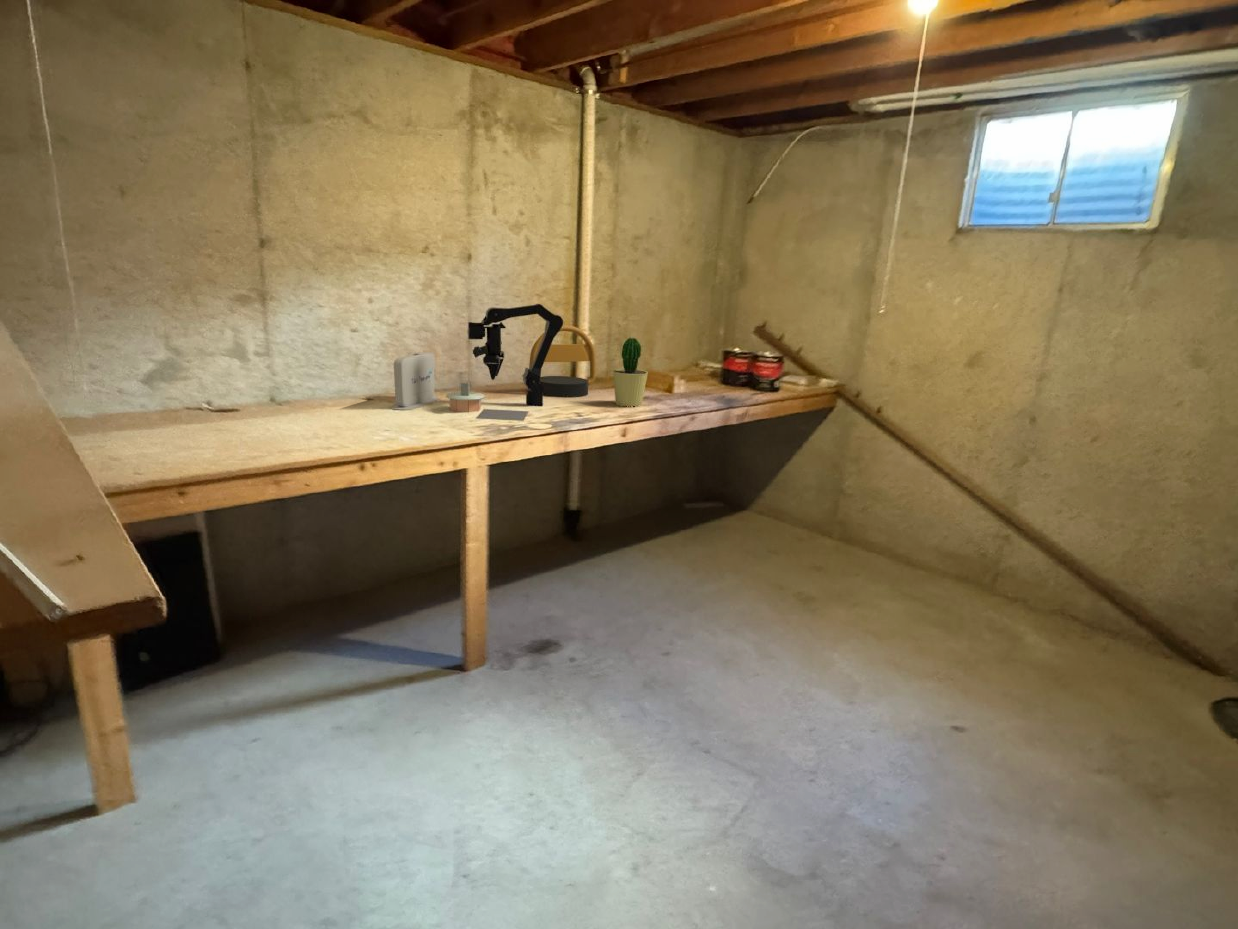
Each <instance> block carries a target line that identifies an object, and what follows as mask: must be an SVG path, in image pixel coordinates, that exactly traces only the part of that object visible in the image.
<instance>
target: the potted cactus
mask: <svg viewBox="0 0 1238 929" xmlns="http://www.w3.org/2000/svg"><path fill="white" fill-rule="evenodd" d="M642 347H644V346H643V345H641V343H640V341H639V340H638V338H635V337H628V338H626V340H625V341H623V344H622V348H621V350H622V351H621V356H620V359H622V366H623V368H619V369H618V368H617V369H613V370H612V375H613V386H614V400H615V405H616V406H618V405H621V406H620V407H623V406H639V405H641V406H642V402H643V399H644V394H645V389H646V383H647V379H648V374H649V372H648V371H646V370H640V369H638V366H639V365H640V363H639V360H640V358H641V356H642ZM639 407H640V406H639Z"/></svg>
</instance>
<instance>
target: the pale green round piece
mask: <svg viewBox="0 0 1238 929" xmlns="http://www.w3.org/2000/svg"><path fill="white" fill-rule="evenodd" d="M470 388H471V381H470V382H469V381H462V382H460V391H455V392H449V393H446V394H445V397H446V398H448V399H449V400H450V399H455V400H479V399H481V400H482V399H485V398H486V397H485V394H484V393H480V392H475V391H471V389H470Z"/></svg>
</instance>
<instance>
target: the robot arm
mask: <svg viewBox="0 0 1238 929" xmlns="http://www.w3.org/2000/svg"><path fill="white" fill-rule="evenodd" d="M532 315H538V316H539V317H540V318H541V319H543V320H544V321H545V324H544V325H545V326H544V332H545V333H544V332H543V333H544V336H543V339H542V341H541V344H540V346H539V349H538V351H537V354H536V356H535V358H534V361H533V363H532V365H531V367H530V368H529V367H525V368H524V369H525V370H524V371H523V372H524V373H523V374H522V382H523V384H524V385H525V386H526V387H527V389H528V390H527V393H526V395H525V404H526V406H528V407H543V406H544V395H543V391H544V387H543V386H542V385H541V384H540V383H539V381H540V377H542V376H541V375H542V368H543V366H544V364H545V362H544V361H545V359H546V356H547V354H548V351H549V349H550V346H551V344H552V343H553V341H554V338H556V336H557V335H558V333H559V331H560V329H561V327H562V326H563V325H564V320H563V318H562V316H560V315H558V314H554V313H552V312H551V311H550V310H548V309H547V308H546V307H544V305H543V304H540V303H535V304H530V305H523V306H521V305H520V306H515V307H495V306H494V307H493V306H492V307H489V308H488V309H487V310H486V311H485V316H484V318H483V319H482V320H481V322H473V321H468V322H467V324H468V325H467V331H466V332H467V339H468V340H483V338H485V337H486V341H485V344H484V345H483V346H479V345H477V346H474V348H473V349H472V354H473V355H474V358H478V357H479V356H480V357H481V356H483V355H484V356H483V358H482V361H483V362H482V363H483V364H484V365H485V366H487V368H488V371H489V375H490V379H491V380H492V381H493V380H495V378H496V377H498V376H499V372H500V370H501V367H502V365H503V362H504V361H505V360H504V359H505V352H504V351H503V350H502V345H503V344H502V329H506V326H505V325H504V324H503V322H504V321H506V320H507V319H511V318H517V317H519V318H520V317H526V316H532ZM560 332H561V331H560Z"/></svg>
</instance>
